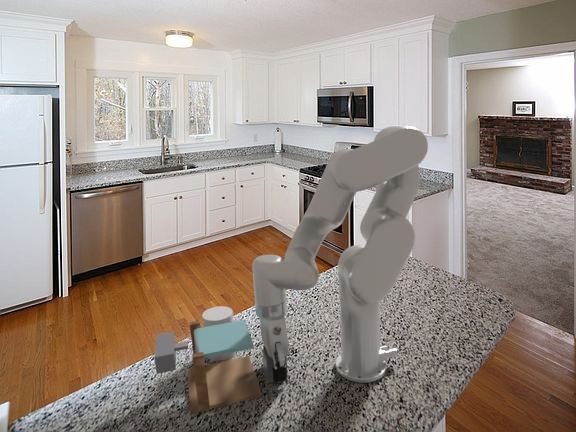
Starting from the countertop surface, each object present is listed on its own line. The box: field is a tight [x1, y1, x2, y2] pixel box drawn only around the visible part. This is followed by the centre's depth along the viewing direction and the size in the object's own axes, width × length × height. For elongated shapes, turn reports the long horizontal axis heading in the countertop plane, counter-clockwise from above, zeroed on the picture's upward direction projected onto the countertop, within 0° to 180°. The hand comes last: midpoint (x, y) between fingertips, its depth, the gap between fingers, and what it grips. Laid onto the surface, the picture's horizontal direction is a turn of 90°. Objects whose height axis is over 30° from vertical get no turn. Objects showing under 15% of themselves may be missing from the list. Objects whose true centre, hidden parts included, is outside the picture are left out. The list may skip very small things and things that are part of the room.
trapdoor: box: [154, 319, 255, 375], centre depth 88 cm, size 21×13×4 cm, turn 106°
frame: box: [187, 320, 263, 414], centre depth 90 cm, size 16×16×14 cm
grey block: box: [261, 349, 289, 383], centre depth 94 cm, size 5×5×6 cm
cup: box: [201, 305, 237, 362], centre depth 103 cm, size 8×8×12 cm
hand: (274, 369), depth 94 cm, fingers open, 9 cm apart
